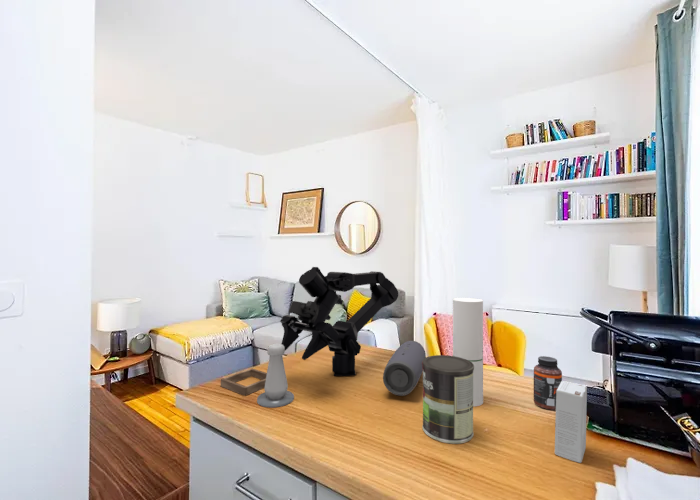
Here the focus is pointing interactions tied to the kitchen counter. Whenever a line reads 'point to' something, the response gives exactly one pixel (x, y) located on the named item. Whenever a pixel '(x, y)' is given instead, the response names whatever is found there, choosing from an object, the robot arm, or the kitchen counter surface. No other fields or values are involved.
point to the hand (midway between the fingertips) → (291, 355)
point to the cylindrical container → (470, 339)
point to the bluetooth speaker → (404, 368)
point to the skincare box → (570, 421)
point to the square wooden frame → (238, 388)
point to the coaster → (267, 402)
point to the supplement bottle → (546, 382)
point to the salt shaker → (276, 373)
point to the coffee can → (448, 398)
